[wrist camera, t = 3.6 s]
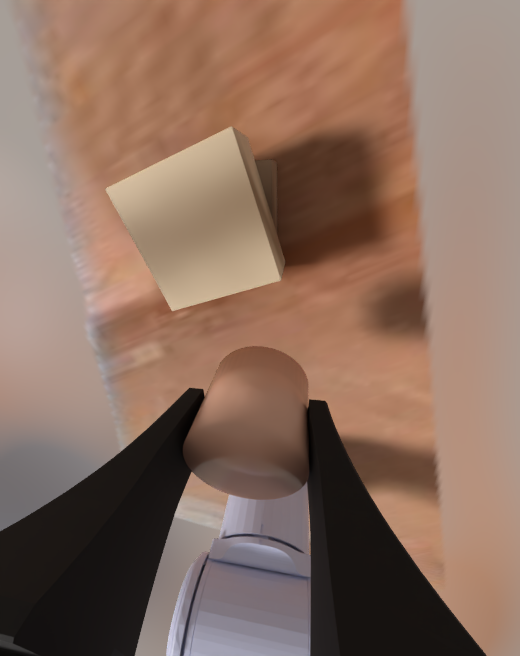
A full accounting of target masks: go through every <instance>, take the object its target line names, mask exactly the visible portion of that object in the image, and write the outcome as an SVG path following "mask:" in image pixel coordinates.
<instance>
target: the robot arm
mask: <svg viewBox="0 0 520 656" xmlns="http://www.w3.org/2000/svg"><path fill="white" fill-rule="evenodd" d="M204 398H205V397H204V391H203V389H195V388H189V389H188V390H187V391H186V392H185V393H184V394H183V395H182V396H181V397H180V398H179V399H178V400H177V401H176V402H175V403H174V404H173V405H172V406H171V407H170V408H169V409H168V410H167V411H166V412H165V413H164V414H163V415H161V416H160V417H159V418H158V419H157V420H156V421H155V422H154V423H153V424H152V425H151V426H150V427H149V428H148V429H147V430H146V431H144V432H143V433H142V434H141V435H140V436H139V437H138V438H136V439H135V440H134V441H133V442H132V443H131V444H130V445H128V446H127V447H126V448H125V449H124V450H122V451H121V452H120V453H119V454H117V455H116V456H115V457H114V458H112V459H111V460H110V461H108V462H107V463H106V464H105V465H103V466H102V467H101V468H99V469H98V470H97V471H95V472H94V473H92V474H91V475H90V476H88V477H87V478H85V479H84V480H82V481H81V482H80V483H78V484H77V485H75V486H74V487H73V488H71V489H69V490H68V491H67V492H65V493H63V494H62V495H60V496H59V497H57V498H56V499H54V500H52V501H51V502H49V503H48V504H46V505H44V506H43V507H41V508H40V509H38V510H36V511H35V512H33V513H31V514H30V515H28V516H27V517H25V518H23V519H21V520H20V521H18V522H16V523H15V524H13V525H11V526H9V527H7V528H6V529H4V530H2V531H0V656H135V652H136V648H137V644H138V639H139V636H140V632H141V628H142V624H143V620H144V617H145V613H146V609H147V605H148V601H149V598H150V594H151V591H152V587H153V584H154V580H155V576H156V573H157V569H158V566H159V563H160V559H161V556H162V553H163V549H164V546H165V543H166V539H167V536H168V533H169V530H170V527H171V524H172V520H173V517H174V514H175V511H176V509H177V506H178V503H179V501H180V498H181V496H182V493H183V491H184V488H185V486H186V484H187V481H188V479H189V476H190V474H191V470H190V468H189V467H188V465H187V464H186V462H185V459H184V456H183V445H184V442H185V439H186V437H187V435H188V433H189V431H190V428H191V426H192V424H193V422H194V420H195V417H196V415H197V413H198V411H199V409H200V406H201V404H202V402H203V400H204ZM308 431H309V477H308V480H307V482H306V484H305V485H304V486H303V487H302V488H301V489H300V490H299V491H297V492H295V493H294V494H292V495H289V496H286V497H283V498H278V499H271V500H254V499H247V498H241V497H237V496H233V495H230V494H229V498H228V502H227V506H226V510H225V515H224V519H223V523H222V527H221V531H220V536H219V539H218V538H214V539H213V541H212V545H211V549H210V552H203V553H201V554H200V555H199V557H198V558H197V559H196V560H195V561H194V562H193V563H192V565H191V566H190V568H189V570H188V572H187V574H186V576H185V579H184V582H183V584H182V587H181V590H180V593H179V596H178V600H177V603H176V607H175V610H174V614H173V619H172V623H171V628H170V632H169V638H168V645H167V652H166V656H486V654H485V653H484V652H483V650H482V649H481V648H480V647H479V645H478V644H477V643H476V642H475V641H474V639H473V638H472V637H471V636H470V634H469V633H468V632H467V631H466V630H465V628H464V627H463V626H462V624H461V623H460V622H459V621H458V619H457V618H456V617H455V615H454V614H453V613H452V612H451V610H450V609H449V608H448V607H447V605H446V604H445V603H444V601H443V600H442V599H441V598H440V596H439V595H438V594H437V592H436V591H435V590H434V588H433V587H432V586H431V584H430V583H429V582H428V580H427V579H426V578H425V576H424V575H423V574H422V572H421V571H420V570H419V568H418V567H417V565H416V564H415V562H414V561H413V560H412V558H411V557H410V555H409V554H408V552H407V551H406V550H405V548H404V547H403V545H402V544H401V542H400V541H399V540H398V538H397V537H396V535H395V534H394V533H393V531H392V530H391V528H390V526H389V525H388V523H387V522H386V520H385V519H384V517H383V516H382V514H381V513H380V511H379V509H378V508H377V506H376V504H375V503H374V501H373V500H372V498H371V496H370V495H369V493H368V491H367V489H366V488H365V486H364V484H363V482H362V481H361V479H360V477H359V475H358V473H357V471H356V470H355V468H354V466H353V464H352V462H351V460H350V458H349V456H348V454H347V452H346V450H345V448H344V446H343V443H342V441H341V439H340V437H339V435H338V432H337V430H336V427H335V425H334V422H333V420H332V417H331V414H330V411H329V408H328V405H327V403H326V402H325V401H320V400H310V399H309V406H308ZM308 501H309V514H310V532H311V555H309V517H308Z"/></svg>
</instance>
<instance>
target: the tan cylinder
mask: <svg viewBox="0 0 520 656" xmlns="http://www.w3.org/2000/svg"><path fill="white" fill-rule="evenodd" d="M308 406H309V404H308V379H307V377H306V374H305V372H304V370H303V369H302V367H301V366H300V365H299V364H298V363H297V362H296V361H295V360H294V359H293V358H291V357H290V356H288V355H287V354H285V353H283V352H281V351H278V350H275V349H272V348H268V347H258V346H253V347H245V348H241V349H238V350H236V351H234V352H232V353H230V354H229V355H227V356H226V357H225V358H224V359H223V360H222V362H221V363H220V365H219V367H218V369H217V371H216V373H215V376H214V378H213V380H212V382H211V384H210V387H209V389H208V391H207V393H206V395H205V398H204V400H203V402H202V404H201V406H200V409H199V411H198V413H197V415H196V417H195V420H194V422H193V424H192V426H191V428H190V431H189V433H188V435H187V437H186V439H185V442H184V445H183V456H184V459H185V462H186V464H187V465H188V467H189V468H190V470H191V471H192V472H193V473H194V474H195V475H196V476H197V477H198V478H199V479H201V480H202V481H203V482H205V483H206V484H208V485H210V486H211V487H213V488H215V489H217V490H219V491H222V492H224V493H227V494H230V495H233V496H237V497H241V498H247V499H254V500H271V499H278V498H283V497H286V496H289V495H292V494H294V493H295V492H297V491H299V490H300V489H301V488H302V487H303V486H304V485H305V484H306V482H307V480H308V477H309V431H308Z"/></svg>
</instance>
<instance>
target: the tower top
mask: <svg viewBox="0 0 520 656" xmlns="http://www.w3.org/2000/svg"><path fill="white" fill-rule="evenodd" d="M105 190H106V192H107V193H108V195H109V197H110V199H111V201H112V202H113V204H114V206H115V208H116V210H117V212H118V213H119V215H120V217H121V219H122V221H123V222H124V224H125V226H126V228H127V230H128V232H129V233H130V235H131V237H132V239H133V241H134V242H135V244H136V246H137V248H138V250H139V252H140V253H141V255H142V257H143V259H144V261H145V262H146V264H147V266H148V268H149V270H150V272H151V273H152V275H153V277H154V279H155V281H156V282H157V284H158V286H159V288H160V290H161V292H162V293H163V295H164V297H165V299H166V301H167V302H168V304H169V306H170V308H171V310H172V311H174V310H178V309H181V308H185V307H188V306H192V305H196V304H199V303H203V302H206V301H210V300H213V299H217V298H220V297H224V296H227V295H231V294H235V293H238V292H242V291H245V290H249V289H252V288H256V287H259V286H263V285H266V284H270V283H274V282H277V281H281V278H282V274H283V270H284V266H285V259H284V256H283V253H282V249H281V246H280V243H279V239H278V236H277V233H276V229H275V226H274V223H273V219H272V216H271V213H270V209H269V206H268V203H267V200H266V196H265V193H264V190H263V186H262V183H261V180H260V176H259V173H258V170H257V166H256V163H255V160H254V156H253V153H252V150H251V146H250V143H249V140H248V137H246V136H245V135H243V134H242V133H241V132H239V131H238V130H236V129H235V128H233V127H232V126H231V127H229V128H227V129H225V130H223V131H221V132H219V133H217V134H215V135H213V136H211V137H209V138H207V139H205V140H203V141H201V142H199V143H197V144H195V145H193V146H191V147H189V148H187V149H185V150H183V151H181V152H179V153H177V154H175V155H173V156H171V157H169V158H167V159H165V160H162V161H160V162H158V163H156V164H154V165H152V166H150V167H148V168H146V169H144V170H142V171H140V172H138V173H136V174H134V175H132V176H130V177H128V178H126V179H124V180H122V181H120V182H118V183H116V184H114V185H112V186H110V187H108V188H106V189H105Z"/></svg>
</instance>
